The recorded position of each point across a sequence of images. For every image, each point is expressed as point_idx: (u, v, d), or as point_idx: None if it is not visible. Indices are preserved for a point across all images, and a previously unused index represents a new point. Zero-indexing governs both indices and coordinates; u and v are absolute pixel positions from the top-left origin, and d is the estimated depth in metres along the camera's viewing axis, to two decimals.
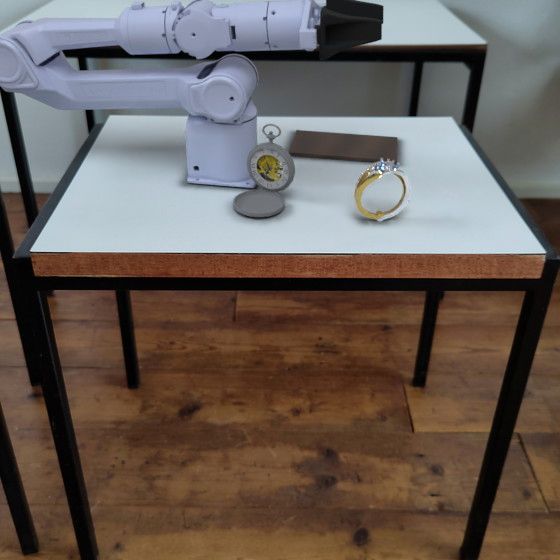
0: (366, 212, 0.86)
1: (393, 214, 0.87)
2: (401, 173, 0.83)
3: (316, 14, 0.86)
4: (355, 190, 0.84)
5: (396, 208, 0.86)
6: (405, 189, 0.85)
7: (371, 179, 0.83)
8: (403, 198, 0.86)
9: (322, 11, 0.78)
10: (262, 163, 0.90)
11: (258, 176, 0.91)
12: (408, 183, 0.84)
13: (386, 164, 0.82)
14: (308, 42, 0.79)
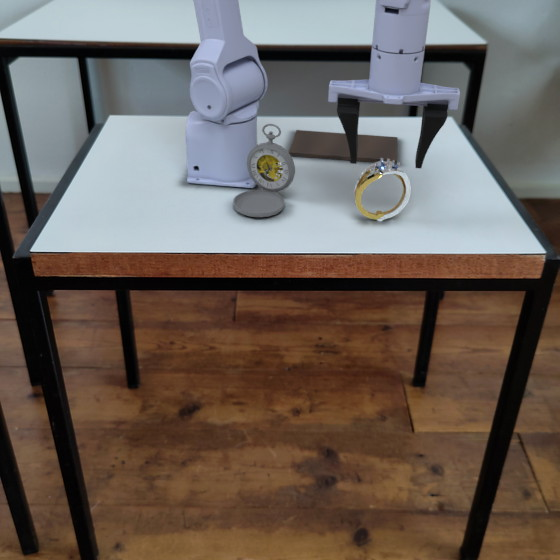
0: (366, 212, 0.86)
1: (393, 214, 0.87)
2: (401, 173, 0.83)
3: None
4: (355, 190, 0.84)
5: (396, 208, 0.86)
6: (405, 189, 0.85)
7: (371, 179, 0.83)
8: (403, 198, 0.86)
9: (341, 113, 0.78)
10: (262, 163, 0.90)
11: (258, 176, 0.91)
12: (408, 183, 0.84)
13: (386, 164, 0.82)
14: None
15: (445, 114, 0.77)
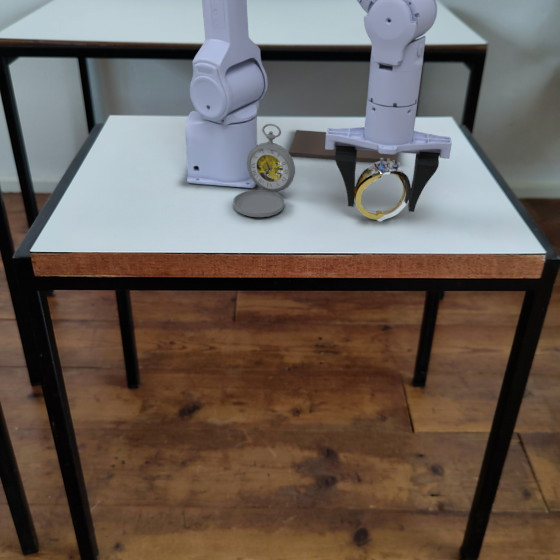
0: (366, 212, 0.86)
1: (393, 214, 0.87)
2: (401, 173, 0.83)
3: None
4: (355, 190, 0.84)
5: (396, 208, 0.86)
6: (405, 189, 0.85)
7: (371, 179, 0.83)
8: (403, 198, 0.86)
9: (339, 161, 0.81)
10: (262, 163, 0.90)
11: (258, 176, 0.91)
12: (408, 183, 0.84)
13: (386, 164, 0.82)
14: None
15: (436, 162, 0.80)
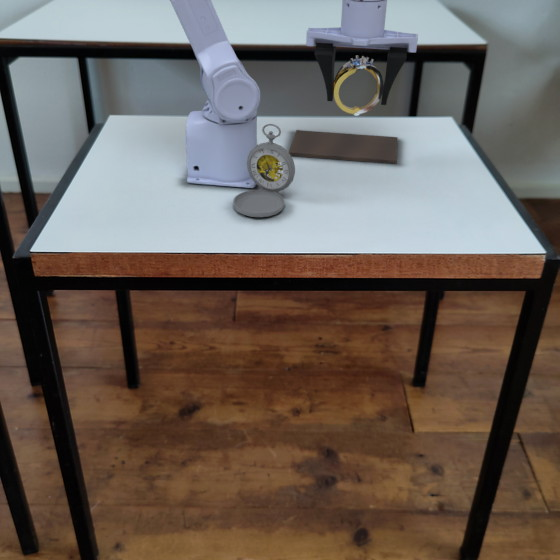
0: (344, 106, 0.96)
1: (368, 109, 0.97)
2: (374, 68, 0.93)
3: None
4: (333, 85, 0.95)
5: (371, 103, 0.97)
6: (378, 85, 0.95)
7: (348, 74, 0.93)
8: (377, 94, 0.96)
9: (318, 55, 0.91)
10: (262, 163, 0.90)
11: (258, 176, 0.91)
12: (381, 79, 0.94)
13: (360, 59, 0.92)
14: None
15: (404, 55, 0.90)
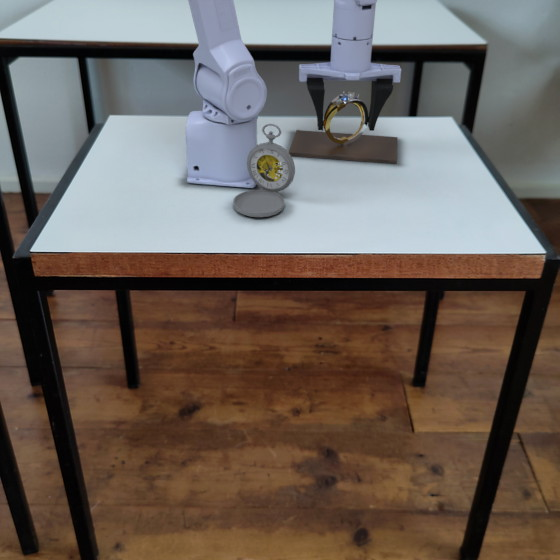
0: (334, 138, 1.04)
1: (355, 138, 1.05)
2: (361, 102, 1.02)
3: None
4: (324, 119, 1.02)
5: (357, 133, 1.05)
6: (364, 116, 1.04)
7: (338, 109, 1.01)
8: (362, 125, 1.05)
9: (311, 90, 0.98)
10: (262, 163, 0.90)
11: (258, 176, 0.91)
12: (366, 111, 1.03)
13: (349, 95, 1.01)
14: None
15: (391, 86, 0.99)
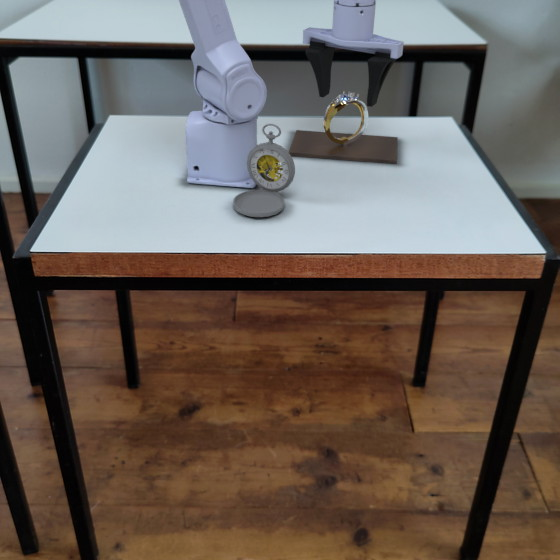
0: (334, 138, 1.04)
1: (355, 138, 1.05)
2: (361, 102, 1.02)
3: None
4: (324, 119, 1.02)
5: (357, 133, 1.05)
6: (364, 116, 1.04)
7: (338, 109, 1.01)
8: (362, 125, 1.05)
9: None
10: (262, 163, 0.90)
11: (258, 176, 0.91)
12: (366, 111, 1.03)
13: (349, 95, 1.01)
14: (399, 51, 0.94)
15: None
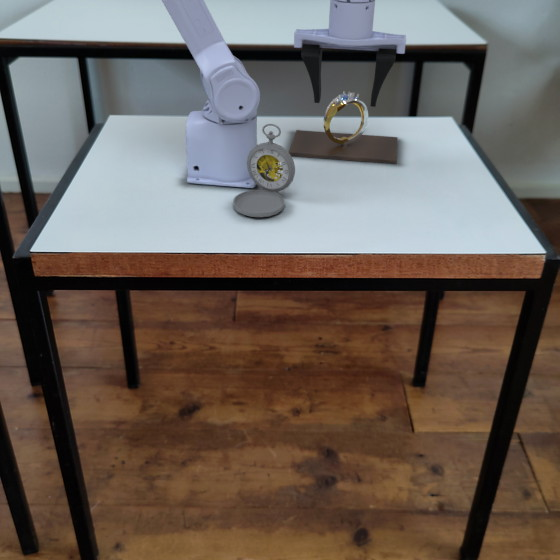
0: (334, 138, 1.04)
1: (355, 138, 1.05)
2: (361, 102, 1.02)
3: None
4: (324, 119, 1.02)
5: (357, 133, 1.05)
6: (364, 116, 1.04)
7: (338, 109, 1.01)
8: (362, 125, 1.05)
9: None
10: (262, 163, 0.90)
11: (258, 176, 0.91)
12: (366, 111, 1.03)
13: (349, 95, 1.01)
14: None
15: None
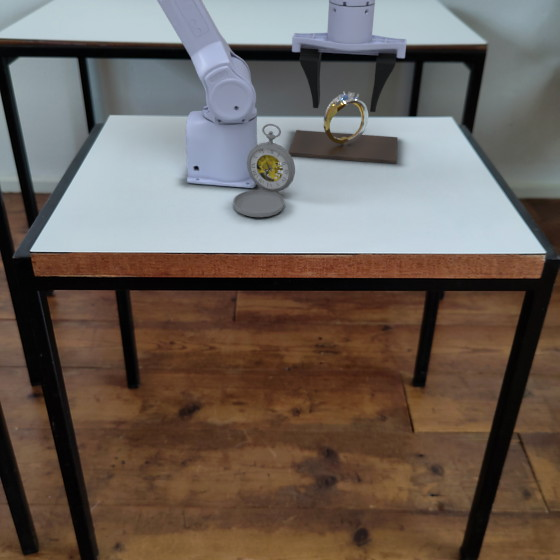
0: (334, 138, 1.04)
1: (355, 138, 1.05)
2: (361, 102, 1.02)
3: None
4: (324, 119, 1.02)
5: (357, 133, 1.05)
6: (364, 116, 1.04)
7: (338, 109, 1.01)
8: (362, 125, 1.05)
9: None
10: (262, 163, 0.90)
11: (258, 176, 0.91)
12: (366, 111, 1.03)
13: (349, 95, 1.01)
14: (405, 50, 0.88)
15: None
